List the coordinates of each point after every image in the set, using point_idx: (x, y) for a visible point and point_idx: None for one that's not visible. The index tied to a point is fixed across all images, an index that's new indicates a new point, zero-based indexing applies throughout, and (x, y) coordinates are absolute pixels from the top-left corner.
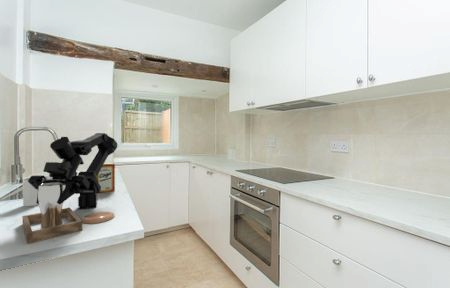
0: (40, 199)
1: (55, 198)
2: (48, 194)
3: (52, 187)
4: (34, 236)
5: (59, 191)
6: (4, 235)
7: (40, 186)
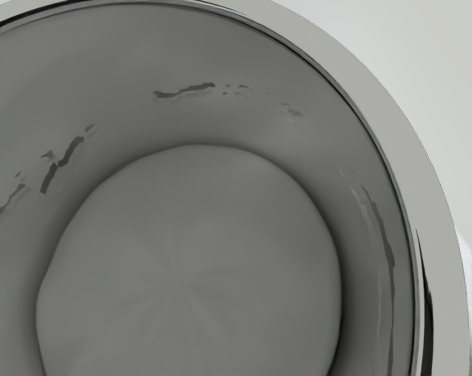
0: (280, 158)
1: (113, 165)
2: (162, 103)
3: (36, 33)
4: None
5: (5, 170)
6: (468, 247)
7: (294, 18)
